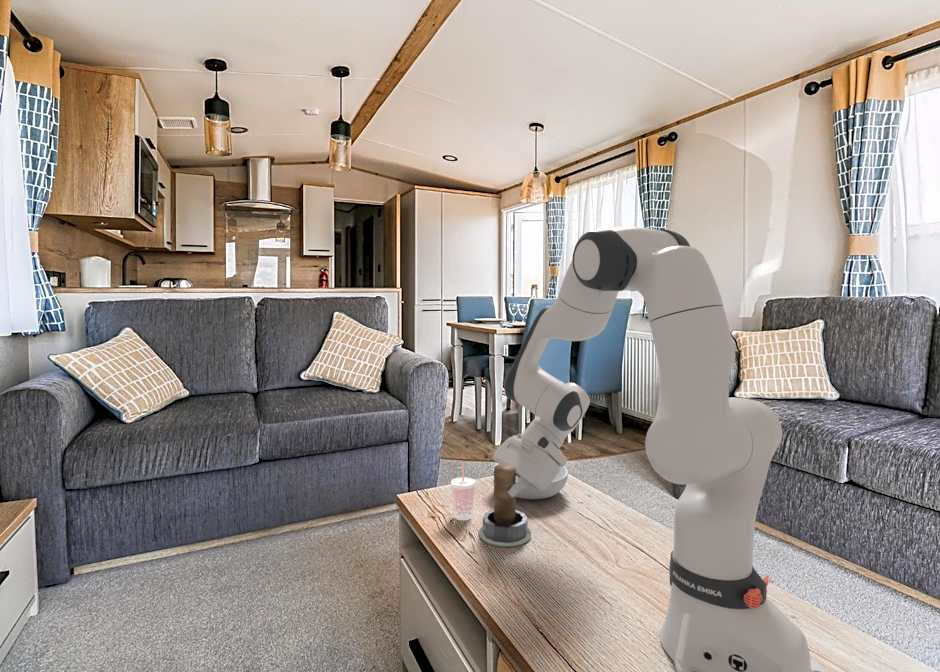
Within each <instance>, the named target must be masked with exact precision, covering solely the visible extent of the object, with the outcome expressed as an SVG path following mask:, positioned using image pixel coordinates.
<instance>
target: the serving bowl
mask: <svg viewBox="0 0 940 672" xmlns="http://www.w3.org/2000/svg"><path fill="white" fill-rule="evenodd" d="M496 465H499V464H498V463H497V462H496V464H495V465H494V466H496ZM494 466H493V467H492V472H493V475H494ZM568 477H569V470H568V468H567V467H566V466H565V465H564V466H563V467H561V466H560V470H559V473H558V474H557V476H556V477H555V479H554V480H553V481H552V482H551V484H550V485H549V486H548V487H547V488H546V489H545V490H543V491H539V490H537V489H536V488H534V487H533V486H531V485H530V484H528V485H527V487H526V488H524V489H523V490H521V491H519V492H517V494H516V498H519V499H523V500H540V499H541V500H542V499H547V498H550V497H553V496H555V495H556V494H559V493H560V492H561V491H562V490H563V489H564V487H565V486H566V483H567V481H568ZM518 478H519V477H517V476H516V483H517V482H518V481H517V480H518Z"/></svg>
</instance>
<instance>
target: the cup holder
mask: <svg viewBox="0 0 940 672" xmlns="http://www.w3.org/2000/svg"><path fill="white" fill-rule="evenodd" d="M528 523H529V522H528V517H527V515H526V514H525V512H523V511H519V510H517V509H516V519H515V521H513V522H511V523H500V522H497V521H495V520H494V508H493V509H490V510H488V511H487V512H485V513H484V515H483V516H482V526H481V527H480V529H479V530H478V531H479V532H478V536H479V538H480V540H481V541H482V542H484V543H485V544H486V545H487V544H488V545H490V546H493V547H497V548H516V547H520V546H523V545H526V544H527V543H529V541H531V539H532V531H531V530H530V528H529V527H528Z"/></svg>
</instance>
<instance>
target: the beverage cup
mask: <svg viewBox="0 0 940 672" xmlns="http://www.w3.org/2000/svg"><path fill="white" fill-rule="evenodd" d="M450 486H451V489H452V501H453V505H452V506H453V517H454V519H455V520H457V521H468V520H471V519H472V518H473V510H474V508H473V507H474V494H475V493H474V492H475V486H476V480H475V479H473V478H471V477H466V476H465V461H462V462H461V477H456V478H453V479H451V480H450Z"/></svg>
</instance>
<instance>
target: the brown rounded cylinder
mask: <svg viewBox="0 0 940 672" xmlns="http://www.w3.org/2000/svg"><path fill="white" fill-rule="evenodd" d="M495 465H496V464H495ZM495 465H494V466H493V467H494V474H493V480H494V483H493V509H494V520H495V521H497V522H500V523H511V522H513V521H515V519H516V510H517V509H516V506H517V504H516V502H517V501H516V500H517V497H516V495H515V496H514V497H511V496H510V495H508V494H507V493H506V490H507V489H508V487H509V486H513V485H514V484H515V483H516V473H515V468H514V467H512V466H511V465H509V464H499V465H496V466H495Z"/></svg>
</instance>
